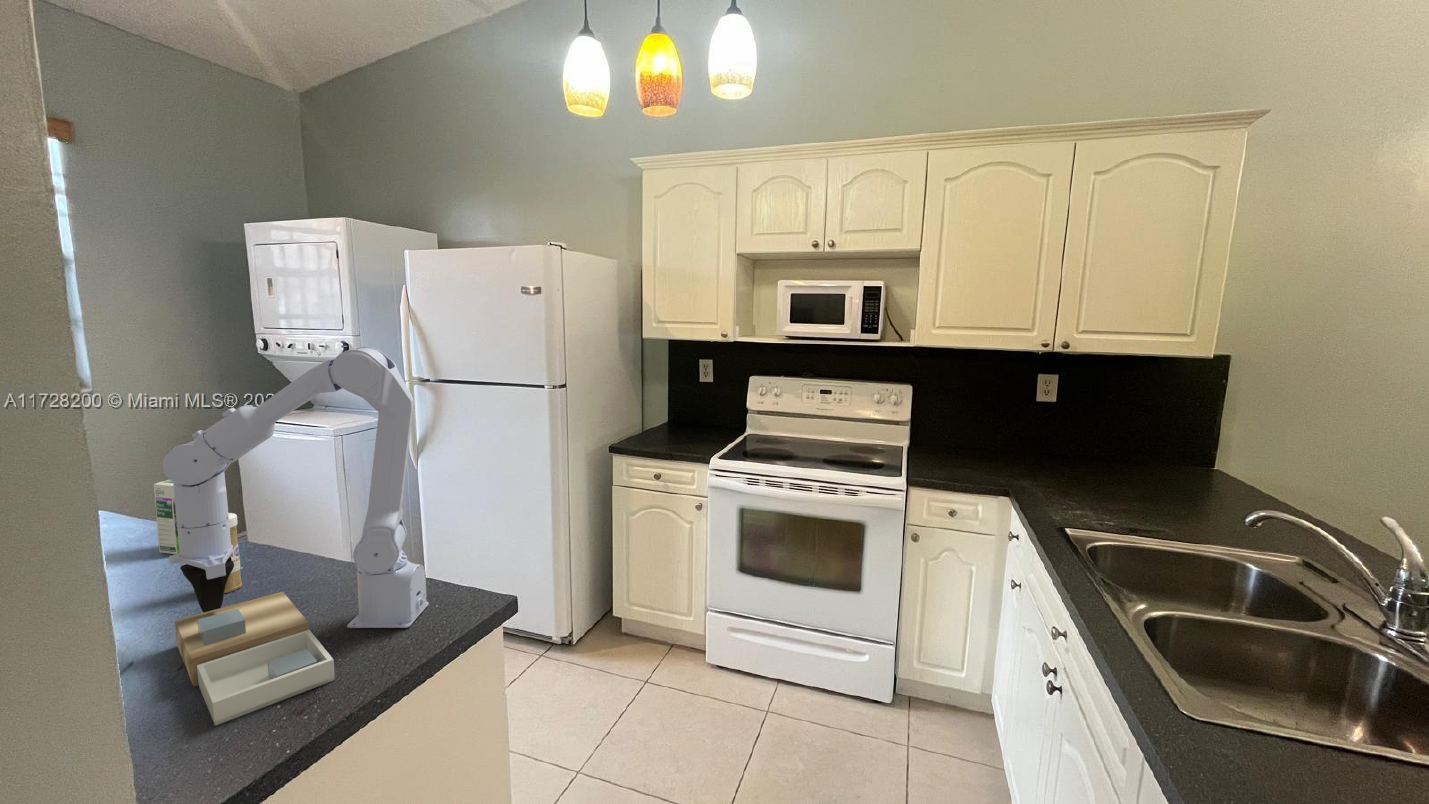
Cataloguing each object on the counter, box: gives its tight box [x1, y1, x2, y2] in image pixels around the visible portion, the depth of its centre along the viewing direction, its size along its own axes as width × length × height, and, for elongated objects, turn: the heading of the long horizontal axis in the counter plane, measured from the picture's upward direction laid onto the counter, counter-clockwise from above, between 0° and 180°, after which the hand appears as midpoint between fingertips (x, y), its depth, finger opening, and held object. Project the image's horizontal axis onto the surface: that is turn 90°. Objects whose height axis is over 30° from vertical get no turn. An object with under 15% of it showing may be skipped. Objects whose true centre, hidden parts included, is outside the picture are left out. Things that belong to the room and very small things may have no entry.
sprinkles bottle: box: [224, 512, 243, 594], centre depth 102 cm, size 5×5×13 cm
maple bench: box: [174, 591, 310, 688], centre depth 85 cm, size 14×13×4 cm
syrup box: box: [153, 479, 180, 555], centre depth 118 cm, size 6×6×14 cm
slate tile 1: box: [197, 609, 246, 645], centre depth 82 cm, size 4×4×2 cm
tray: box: [197, 629, 336, 727], centre depth 77 cm, size 11×12×3 cm
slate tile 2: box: [267, 649, 317, 679], centre depth 78 cm, size 4×4×2 cm
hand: (211, 608), depth 87 cm, fingers closed
